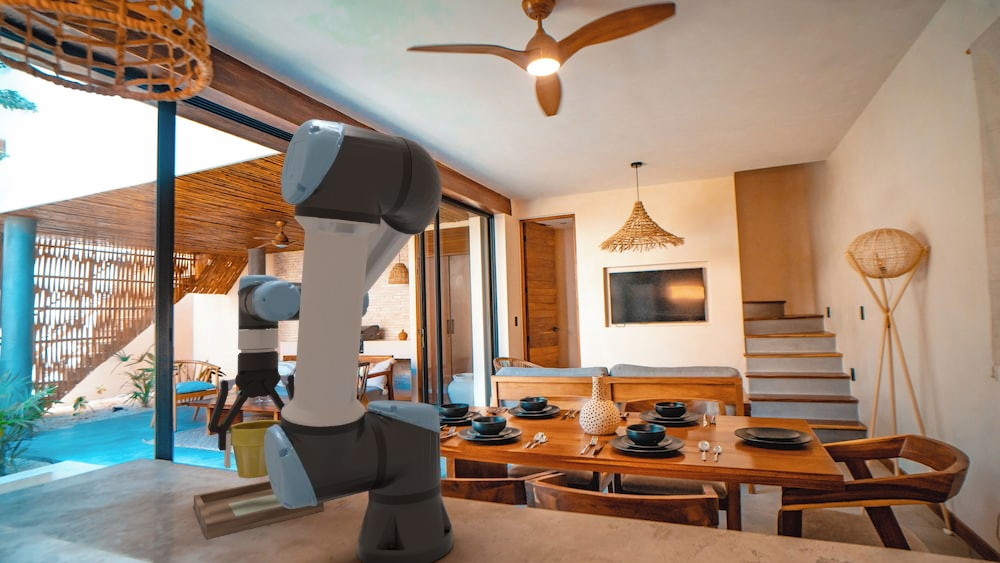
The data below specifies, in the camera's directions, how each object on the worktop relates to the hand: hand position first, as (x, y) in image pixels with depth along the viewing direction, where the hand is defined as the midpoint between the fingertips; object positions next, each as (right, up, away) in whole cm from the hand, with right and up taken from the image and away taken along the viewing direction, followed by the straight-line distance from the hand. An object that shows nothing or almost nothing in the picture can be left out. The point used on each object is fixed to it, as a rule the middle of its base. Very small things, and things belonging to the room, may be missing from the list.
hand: (257, 461), depth 103 cm
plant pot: (0, -3, 0) cm, 3 cm away
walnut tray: (0, -9, -1) cm, 9 cm away
